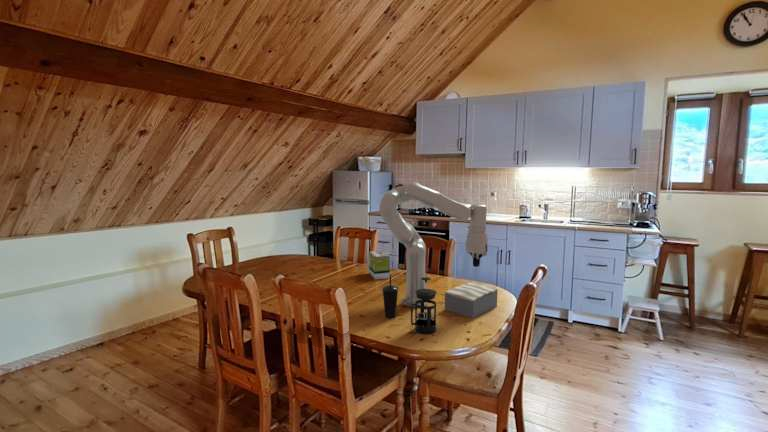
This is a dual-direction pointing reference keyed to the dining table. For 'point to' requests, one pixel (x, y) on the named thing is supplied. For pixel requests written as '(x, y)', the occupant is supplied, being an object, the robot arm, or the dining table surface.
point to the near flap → (465, 293)
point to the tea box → (379, 264)
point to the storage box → (470, 305)
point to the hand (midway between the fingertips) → (476, 266)
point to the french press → (425, 318)
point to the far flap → (479, 288)
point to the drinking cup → (390, 300)
